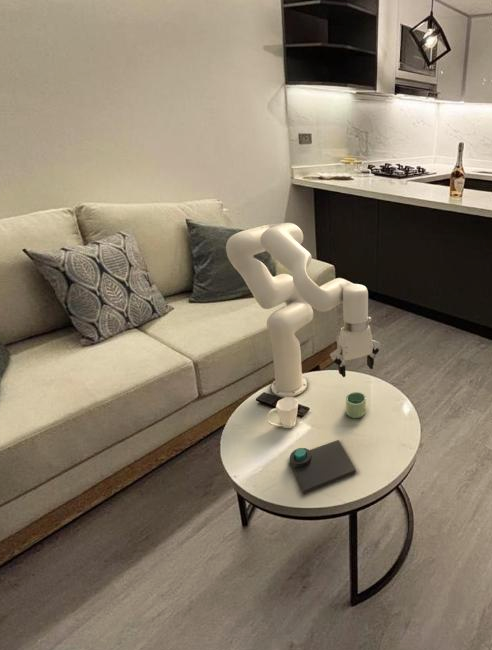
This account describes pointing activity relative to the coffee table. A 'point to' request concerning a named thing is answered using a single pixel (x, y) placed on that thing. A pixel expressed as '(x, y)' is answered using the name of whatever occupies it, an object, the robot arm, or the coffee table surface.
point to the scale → (322, 466)
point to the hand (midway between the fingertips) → (356, 370)
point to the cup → (286, 412)
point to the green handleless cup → (355, 404)
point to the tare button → (300, 454)
